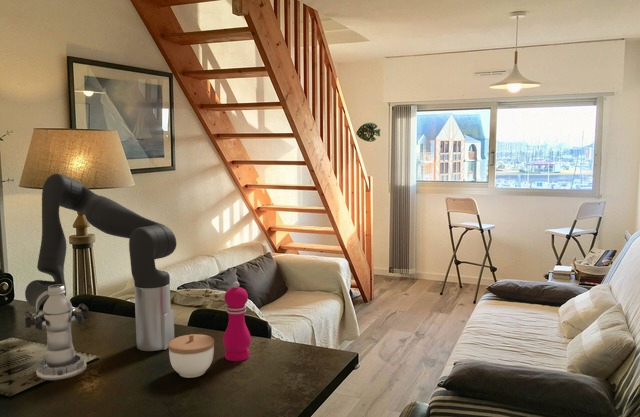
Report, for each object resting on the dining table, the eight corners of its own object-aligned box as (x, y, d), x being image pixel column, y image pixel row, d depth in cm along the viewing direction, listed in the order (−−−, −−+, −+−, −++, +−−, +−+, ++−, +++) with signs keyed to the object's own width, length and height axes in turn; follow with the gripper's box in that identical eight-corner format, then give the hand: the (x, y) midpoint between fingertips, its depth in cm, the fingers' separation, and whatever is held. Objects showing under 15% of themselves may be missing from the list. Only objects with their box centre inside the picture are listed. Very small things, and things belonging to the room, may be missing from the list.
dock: (95, 362, 134) (94, 353, 133) (69, 381, 123) (68, 371, 123) (55, 360, 135) (54, 351, 135) (25, 378, 124) (25, 368, 124)
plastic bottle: (46, 374, 124) (41, 291, 122) (46, 364, 130) (41, 284, 128) (76, 368, 127) (71, 287, 125) (75, 359, 133) (70, 281, 131)
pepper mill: (248, 362, 134) (247, 285, 132) (220, 362, 134) (218, 285, 132) (253, 351, 141) (252, 278, 139) (226, 351, 141) (224, 278, 139)
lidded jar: (198, 384, 121) (197, 345, 120) (159, 378, 125) (158, 339, 124) (223, 367, 131) (222, 330, 130) (186, 361, 135) (185, 325, 134)
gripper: (20, 296, 135) (25, 312, 122) (81, 288, 143) (91, 303, 129) (22, 325, 136) (27, 344, 123) (82, 315, 144) (93, 332, 130)
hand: (60, 323), depth 126 cm, fingers open, 8 cm apart
